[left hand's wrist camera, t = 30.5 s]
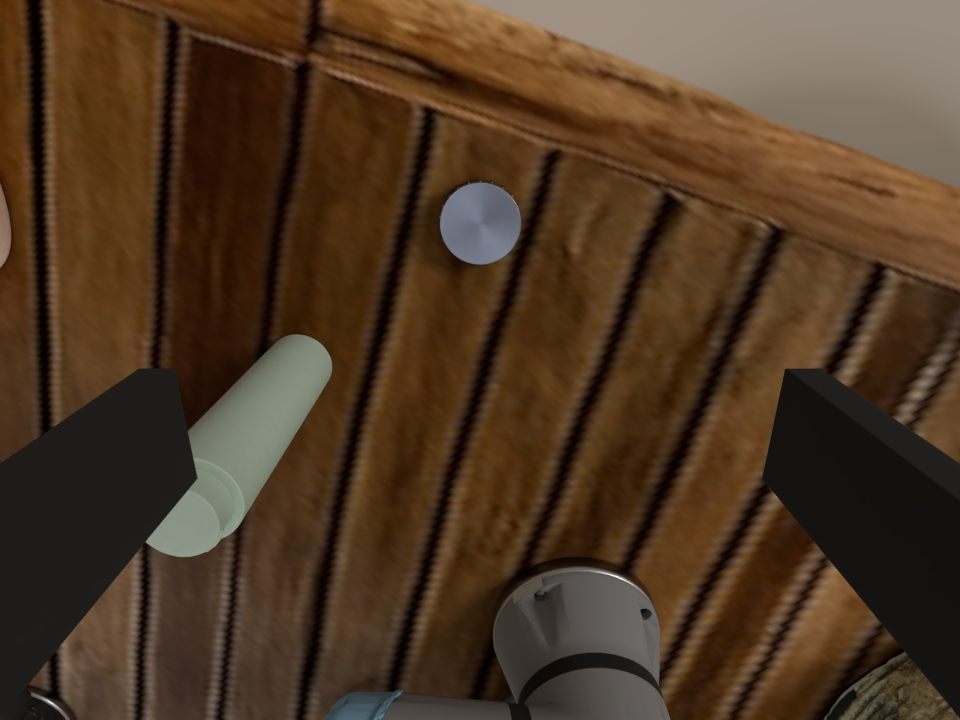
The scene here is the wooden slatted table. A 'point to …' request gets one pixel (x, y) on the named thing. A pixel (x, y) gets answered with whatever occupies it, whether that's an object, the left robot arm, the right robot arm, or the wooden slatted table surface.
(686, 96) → the wooden slatted table surface
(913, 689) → the fossil
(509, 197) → the lid
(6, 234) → the anatomical model
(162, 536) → the pale green cylinder
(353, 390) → the wooden slatted table surface
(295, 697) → the wooden slatted table surface
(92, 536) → the left robot arm
